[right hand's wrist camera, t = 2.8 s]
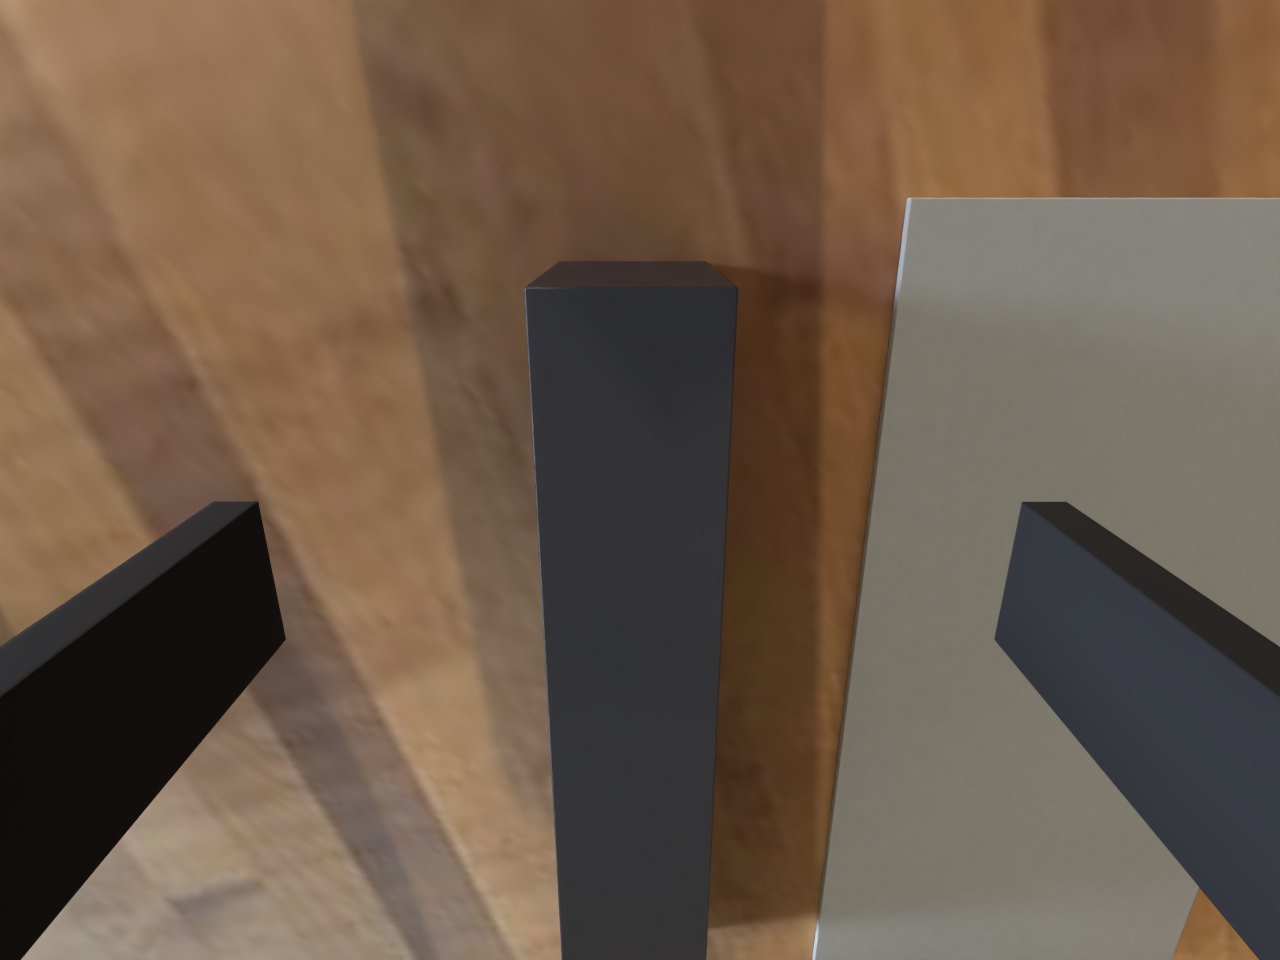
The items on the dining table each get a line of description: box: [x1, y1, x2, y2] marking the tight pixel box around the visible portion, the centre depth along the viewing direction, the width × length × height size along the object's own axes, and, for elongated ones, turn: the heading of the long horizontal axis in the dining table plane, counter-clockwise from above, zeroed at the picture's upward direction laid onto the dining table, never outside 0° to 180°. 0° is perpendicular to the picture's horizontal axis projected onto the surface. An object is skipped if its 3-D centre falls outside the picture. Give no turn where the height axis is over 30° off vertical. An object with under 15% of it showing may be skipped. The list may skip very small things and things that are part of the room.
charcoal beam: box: [524, 262, 738, 960], centre depth 26 cm, size 32×5×8 cm, turn 0°
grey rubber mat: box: [812, 198, 1280, 960], centre depth 30 cm, size 18×36×1 cm, turn 0°
